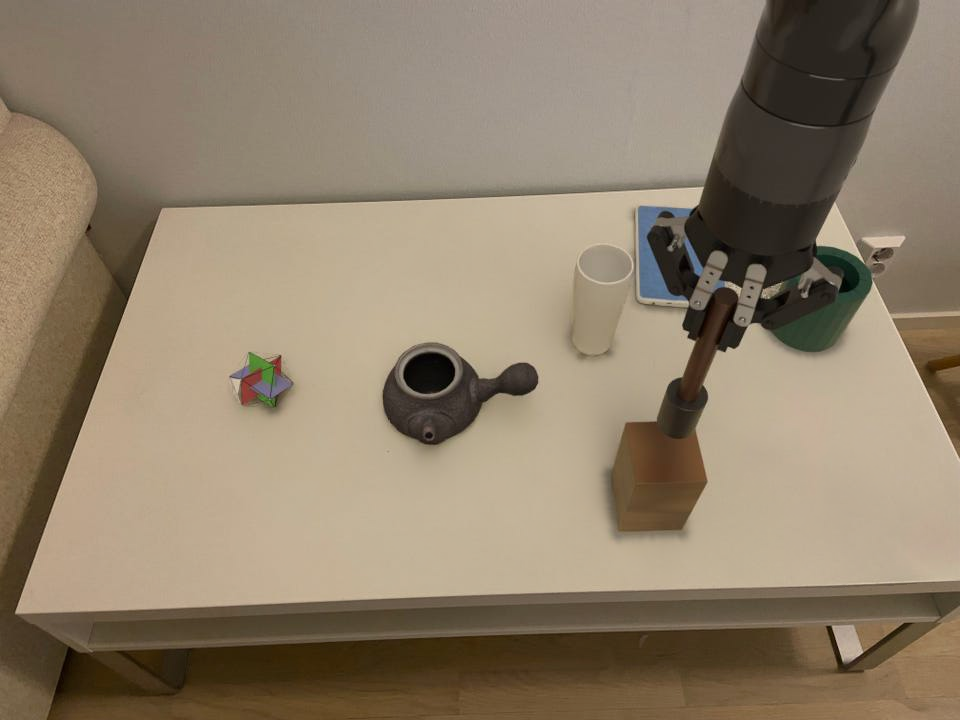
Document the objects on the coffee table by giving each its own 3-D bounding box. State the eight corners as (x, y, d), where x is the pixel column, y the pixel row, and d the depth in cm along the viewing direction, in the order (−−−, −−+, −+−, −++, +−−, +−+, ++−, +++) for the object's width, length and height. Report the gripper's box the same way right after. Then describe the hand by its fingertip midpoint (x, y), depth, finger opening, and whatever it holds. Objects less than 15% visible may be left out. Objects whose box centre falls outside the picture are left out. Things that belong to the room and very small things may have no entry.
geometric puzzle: (271, 344, 91) (230, 340, 84) (312, 366, 89) (273, 363, 82) (251, 394, 92) (208, 394, 85) (291, 417, 90) (250, 419, 82)
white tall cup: (555, 340, 93) (563, 262, 81) (589, 313, 96) (603, 233, 84) (593, 370, 90) (607, 293, 78) (627, 342, 93) (647, 263, 81)
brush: (700, 415, 66) (757, 288, 51) (688, 445, 64) (743, 321, 50) (664, 400, 67) (709, 271, 52) (650, 429, 65) (694, 303, 51)
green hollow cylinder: (847, 312, 95) (879, 261, 87) (831, 362, 90) (864, 312, 82) (777, 288, 98) (802, 236, 90) (759, 335, 93) (783, 285, 85)
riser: (670, 473, 82) (693, 420, 72) (681, 530, 78) (708, 482, 68) (610, 474, 82) (625, 422, 72) (618, 531, 78) (635, 484, 68)
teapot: (380, 471, 83) (367, 428, 75) (387, 365, 92) (376, 316, 84) (539, 466, 83) (544, 423, 74) (530, 360, 92) (534, 311, 84)
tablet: (728, 311, 96) (730, 305, 95) (635, 305, 97) (636, 298, 96) (716, 215, 107) (719, 208, 106) (633, 210, 108) (635, 203, 107)
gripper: (646, 159, 41) (609, 339, 55) (893, 235, 37) (785, 408, 51) (689, 92, 45) (644, 276, 59) (916, 154, 41) (810, 336, 55)
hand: (710, 337), depth 55 cm, fingers closed on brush, 2 cm apart
